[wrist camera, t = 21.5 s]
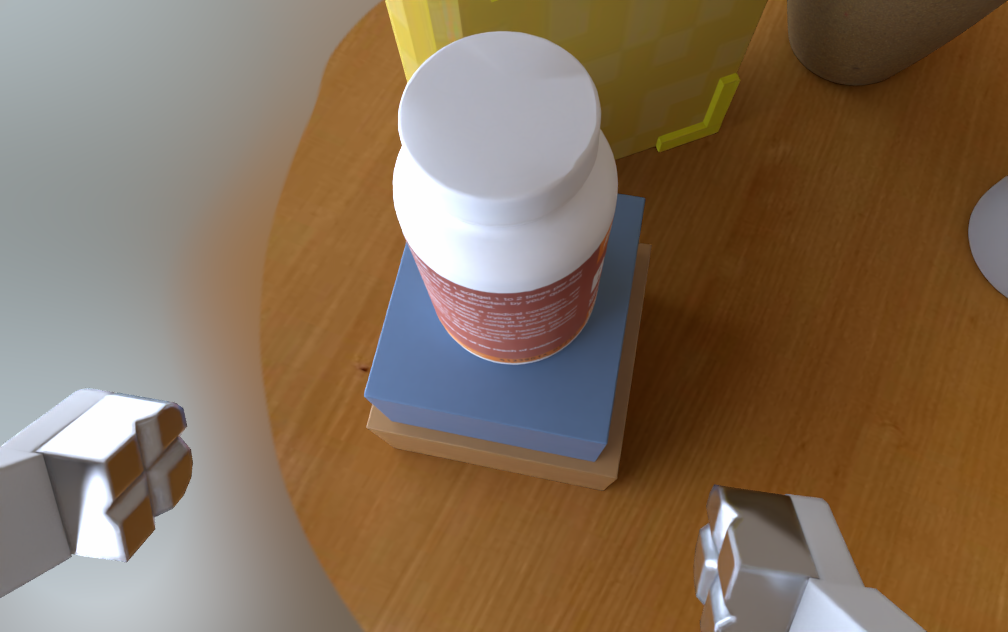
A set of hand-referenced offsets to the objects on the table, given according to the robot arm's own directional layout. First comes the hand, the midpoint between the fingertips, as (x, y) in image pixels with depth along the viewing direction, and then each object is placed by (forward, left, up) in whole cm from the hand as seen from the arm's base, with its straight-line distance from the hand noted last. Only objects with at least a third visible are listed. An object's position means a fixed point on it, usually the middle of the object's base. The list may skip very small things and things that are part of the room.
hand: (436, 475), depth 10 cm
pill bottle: (+8, +1, -14) cm, 16 cm away
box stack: (+8, +1, -24) cm, 26 cm away
